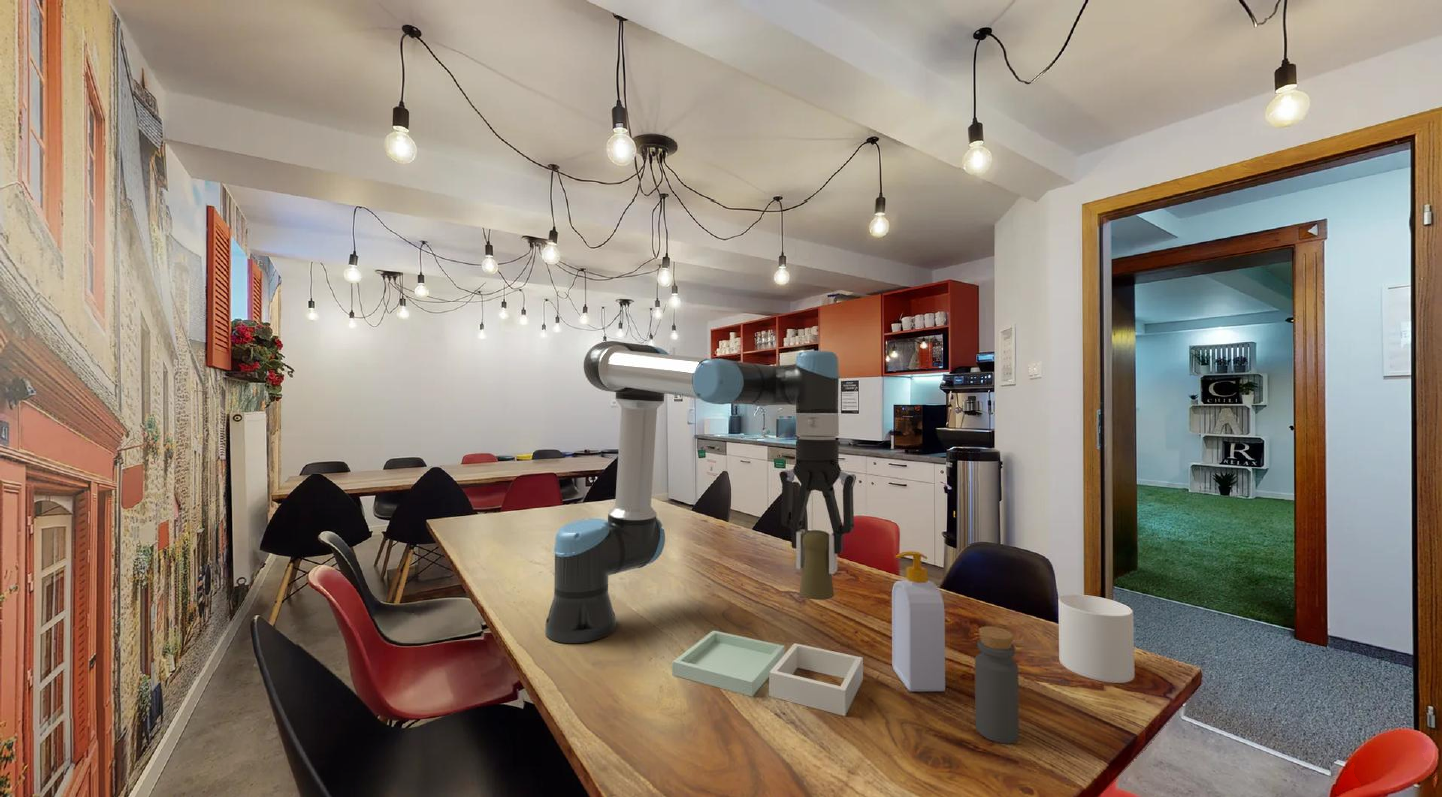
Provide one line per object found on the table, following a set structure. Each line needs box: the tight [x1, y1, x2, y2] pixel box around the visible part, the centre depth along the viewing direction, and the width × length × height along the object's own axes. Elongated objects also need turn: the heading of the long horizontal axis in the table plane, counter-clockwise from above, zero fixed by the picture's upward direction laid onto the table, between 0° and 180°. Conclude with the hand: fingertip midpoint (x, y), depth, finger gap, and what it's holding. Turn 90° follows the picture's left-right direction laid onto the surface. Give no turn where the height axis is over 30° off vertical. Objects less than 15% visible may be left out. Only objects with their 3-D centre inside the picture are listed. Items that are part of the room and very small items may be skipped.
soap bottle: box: [891, 550, 946, 692], centre depth 96 cm, size 9×7×23 cm
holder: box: [768, 643, 864, 717], centre depth 93 cm, size 13×13×4 cm
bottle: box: [974, 625, 1020, 745], centre depth 80 cm, size 6×6×15 cm
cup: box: [1058, 593, 1135, 684], centre depth 101 cm, size 12×12×12 cm
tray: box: [671, 629, 786, 697], centre depth 101 cm, size 16×16×2 cm
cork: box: [798, 529, 835, 601], centre depth 94 cm, size 6×6×11 cm
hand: (816, 569), depth 94 cm, fingers closed on cork, 5 cm apart
